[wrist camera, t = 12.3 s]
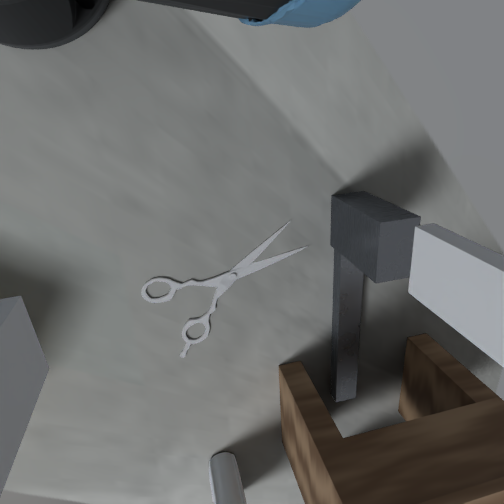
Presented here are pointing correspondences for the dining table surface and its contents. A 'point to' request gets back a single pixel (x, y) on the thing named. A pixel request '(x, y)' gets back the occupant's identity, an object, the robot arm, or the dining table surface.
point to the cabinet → (400, 438)
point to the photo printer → (226, 480)
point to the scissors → (217, 285)
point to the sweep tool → (362, 271)
